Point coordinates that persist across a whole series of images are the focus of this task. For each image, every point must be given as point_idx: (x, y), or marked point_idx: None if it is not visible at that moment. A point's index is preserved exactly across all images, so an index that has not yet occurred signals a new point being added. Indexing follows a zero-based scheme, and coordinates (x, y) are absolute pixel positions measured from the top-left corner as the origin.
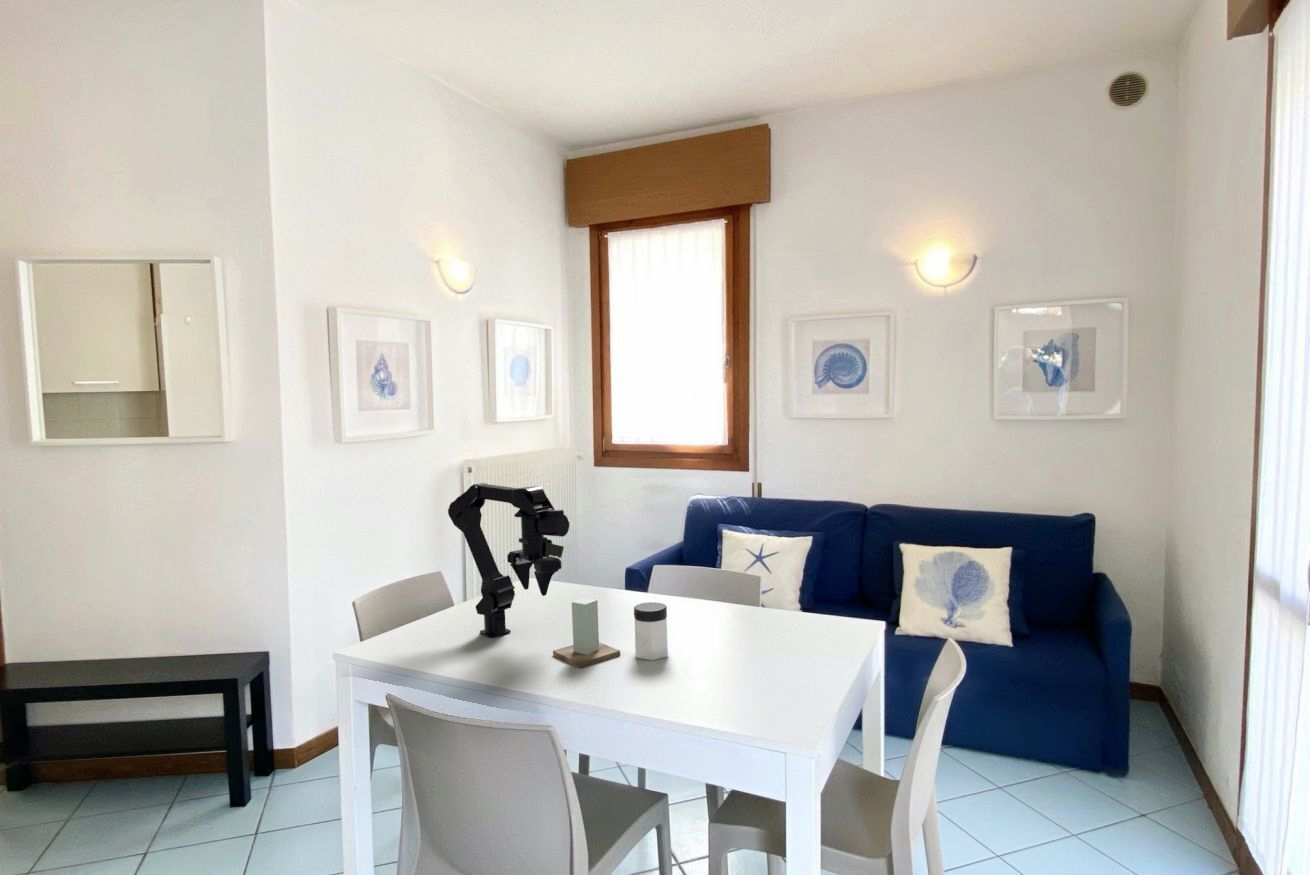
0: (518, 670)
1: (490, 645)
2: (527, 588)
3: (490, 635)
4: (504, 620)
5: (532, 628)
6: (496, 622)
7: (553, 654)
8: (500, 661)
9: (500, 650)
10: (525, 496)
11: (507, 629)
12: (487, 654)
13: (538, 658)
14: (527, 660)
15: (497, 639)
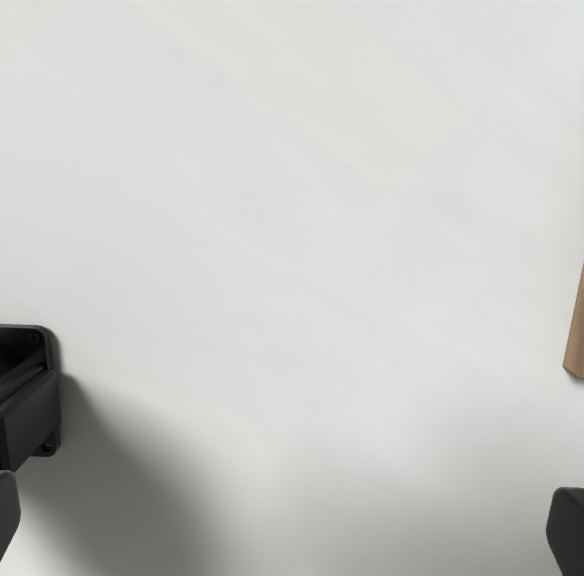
0: None
1: (172, 495)
2: (11, 491)
3: (41, 445)
4: (13, 415)
5: (50, 182)
6: (17, 467)
7: (570, 368)
8: (413, 561)
9: (279, 497)
10: None
11: (2, 331)
12: (283, 558)
13: (530, 434)
14: (507, 480)
15: (105, 429)
